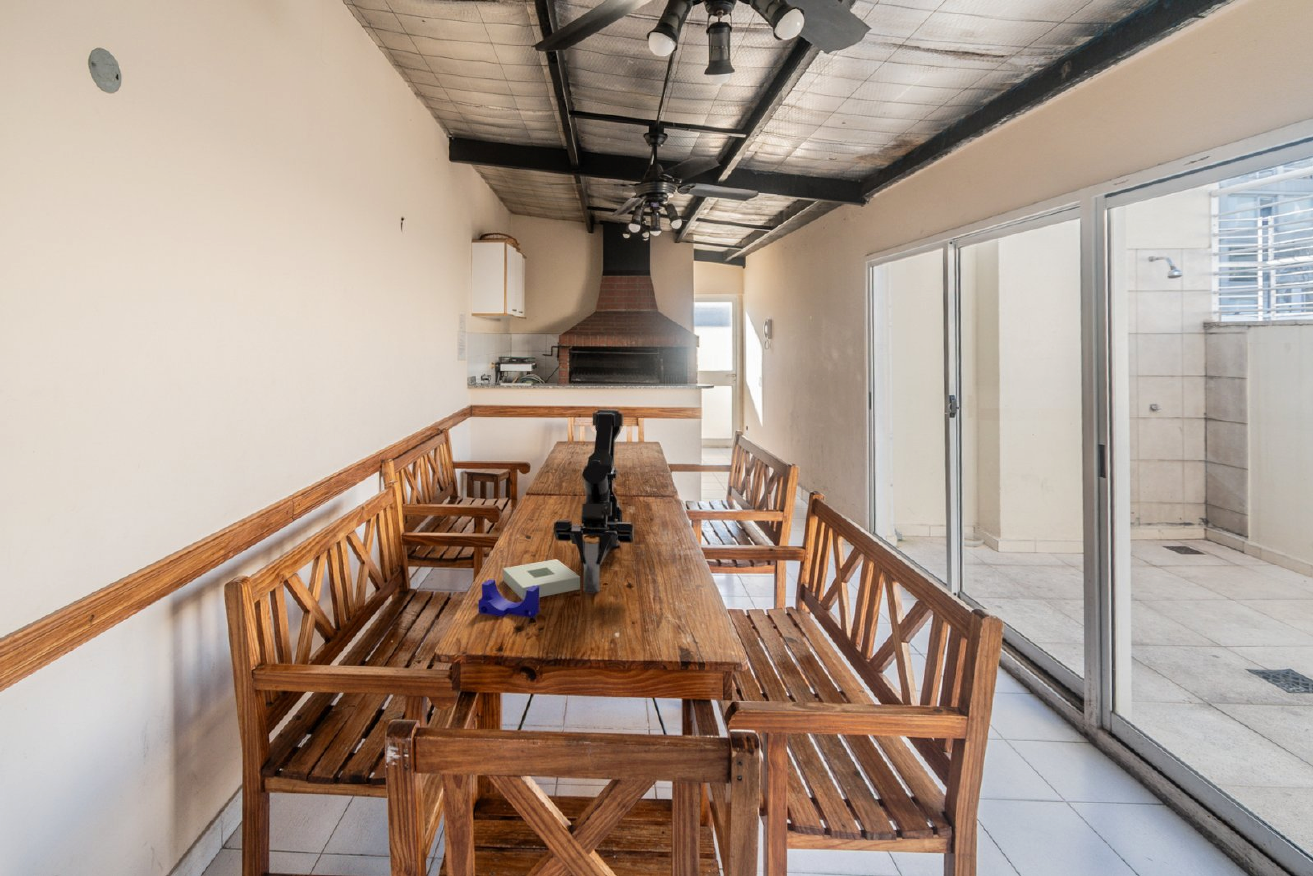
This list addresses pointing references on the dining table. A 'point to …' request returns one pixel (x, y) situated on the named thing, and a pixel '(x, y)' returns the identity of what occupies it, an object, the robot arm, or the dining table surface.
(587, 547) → the steel pin
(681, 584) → the dining table surface
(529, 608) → the blue cradle bracket
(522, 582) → the block
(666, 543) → the dining table surface
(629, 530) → the robot arm
